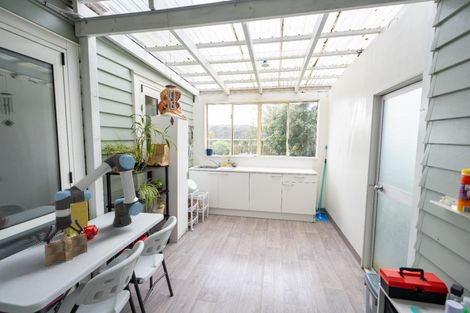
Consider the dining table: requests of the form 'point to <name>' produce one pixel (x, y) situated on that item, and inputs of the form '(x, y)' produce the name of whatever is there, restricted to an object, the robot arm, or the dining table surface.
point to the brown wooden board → (57, 253)
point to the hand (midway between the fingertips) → (64, 246)
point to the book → (78, 217)
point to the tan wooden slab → (67, 247)
